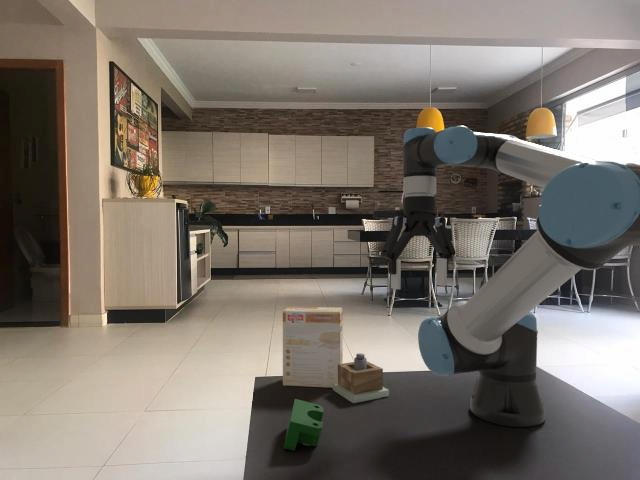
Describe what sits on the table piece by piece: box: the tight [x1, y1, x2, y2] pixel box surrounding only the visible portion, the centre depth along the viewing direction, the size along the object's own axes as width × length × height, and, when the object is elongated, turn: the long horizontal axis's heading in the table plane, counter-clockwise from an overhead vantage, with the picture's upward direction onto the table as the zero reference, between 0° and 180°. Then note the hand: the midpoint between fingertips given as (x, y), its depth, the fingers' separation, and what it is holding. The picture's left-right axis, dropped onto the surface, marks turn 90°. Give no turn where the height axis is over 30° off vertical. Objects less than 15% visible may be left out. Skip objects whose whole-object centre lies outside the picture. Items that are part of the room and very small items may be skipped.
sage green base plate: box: [332, 353, 390, 404], centre depth 114 cm, size 10×10×10 cm
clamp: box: [283, 398, 324, 452], centre depth 89 cm, size 12×6×9 cm, turn 173°
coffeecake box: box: [282, 306, 344, 389], centre depth 122 cm, size 15×7×20 cm, turn 82°
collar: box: [338, 360, 384, 394], centre depth 114 cm, size 8×8×5 cm
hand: (419, 287), depth 109 cm, fingers open, 13 cm apart
